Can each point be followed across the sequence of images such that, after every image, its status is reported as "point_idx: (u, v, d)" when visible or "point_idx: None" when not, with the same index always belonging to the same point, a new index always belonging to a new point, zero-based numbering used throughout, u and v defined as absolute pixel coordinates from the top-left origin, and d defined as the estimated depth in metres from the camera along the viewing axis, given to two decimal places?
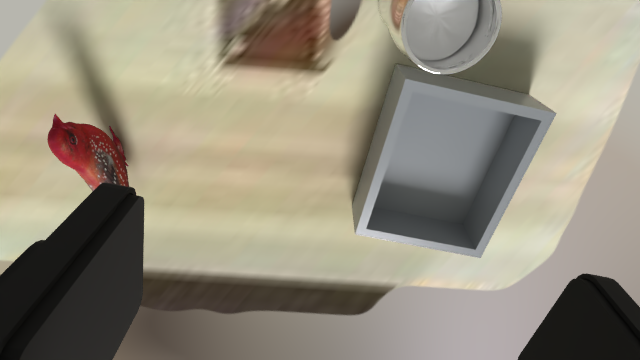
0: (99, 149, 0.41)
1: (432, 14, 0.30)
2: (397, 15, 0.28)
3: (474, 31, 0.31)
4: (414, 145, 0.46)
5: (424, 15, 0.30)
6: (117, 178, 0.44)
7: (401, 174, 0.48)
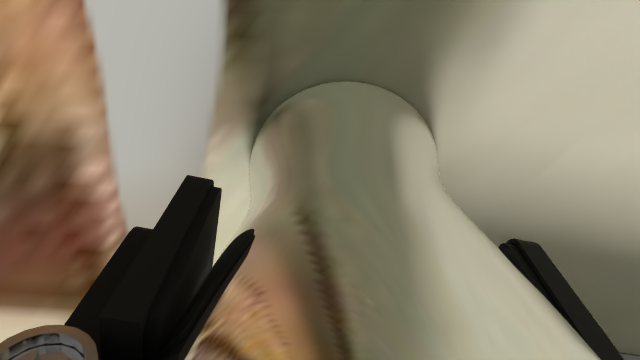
0: None
1: None
2: None
3: None
4: None
5: None
6: None
7: None
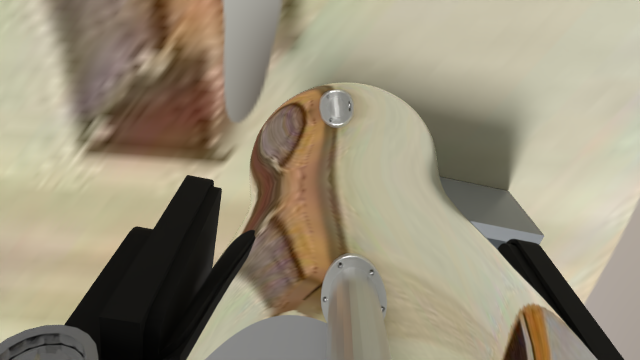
0: None
1: None
2: None
3: None
4: None
5: None
6: None
7: None
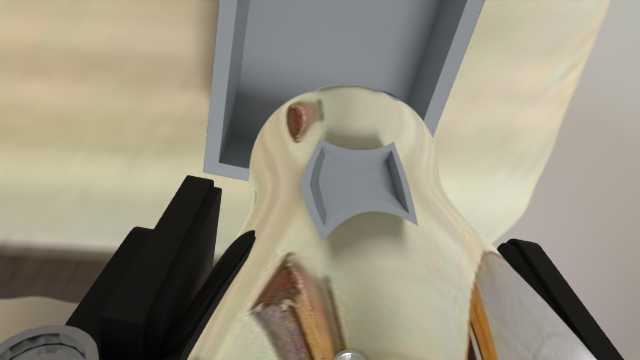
0: None
1: None
2: None
3: None
4: (297, 32, 0.29)
5: None
6: None
7: (283, 83, 0.31)
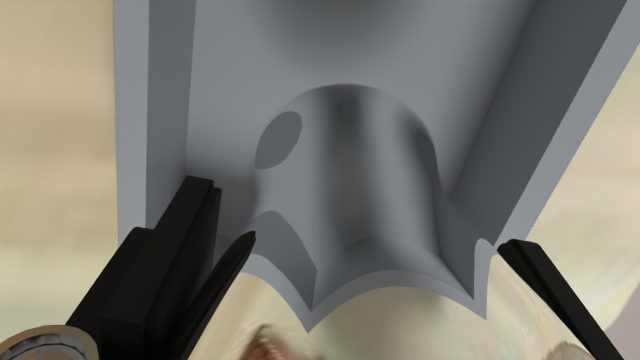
0: None
1: None
2: None
3: None
4: (278, 77, 0.18)
5: None
6: None
7: None
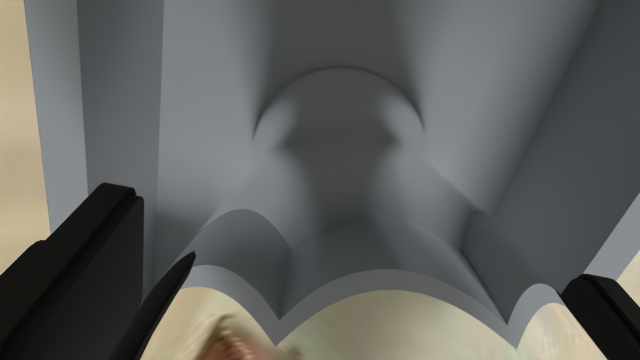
0: None
1: None
2: None
3: None
4: None
5: None
6: None
7: None
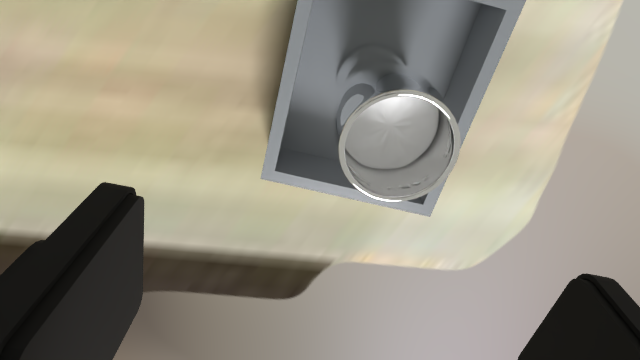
0: None
1: (384, 122, 0.26)
2: (337, 131, 0.23)
3: (434, 140, 0.27)
4: None
5: (374, 123, 0.26)
6: None
7: (328, 104, 0.36)
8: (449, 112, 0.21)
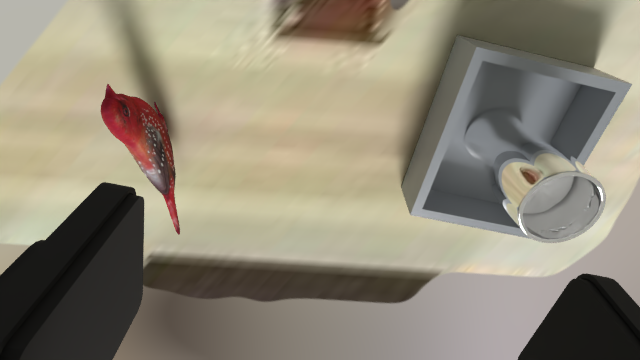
0: (149, 123, 0.40)
1: None
2: (512, 195, 0.33)
3: (568, 193, 0.36)
4: None
5: None
6: (165, 155, 0.42)
7: (456, 153, 0.46)
8: (601, 185, 0.31)
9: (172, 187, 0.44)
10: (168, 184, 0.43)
